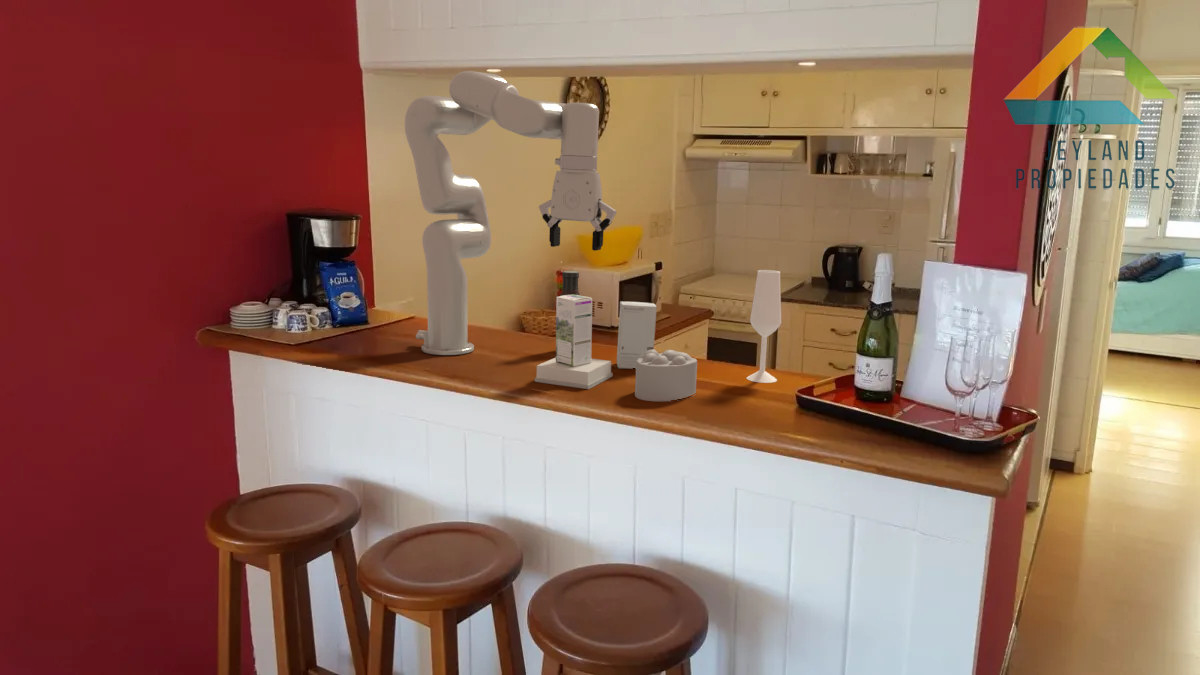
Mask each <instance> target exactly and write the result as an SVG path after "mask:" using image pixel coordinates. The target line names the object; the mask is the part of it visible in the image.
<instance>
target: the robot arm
mask: <svg viewBox="0 0 1200 675" xmlns="http://www.w3.org/2000/svg"><path fill="white" fill-rule="evenodd" d="M448 87H449V88H448V89H449V95H450V97H449V96H439V95H425V96H420V97H418V98H417V97H416V98H415V99H414V100H413V101H411V103H410V104H409V106H408V107H407V109H406V113H405V116H404V117H405V118H404V132H405V136H406V137H405V138H406V140H407V143H408V147H409V149H410V151H411V152H410V153H411V155H412V158H413V162H414V168H415V175H416V179H417V185H418V190H419V194H420V200H421V203H422V207H423V208H424V210H425V211H426V212H427V213H429V214H432V215H436V216H437V215H440V216H443V215H445V216H446V215H448V216H450V215H456V217H457V218H456V219H455V218H454V219H441V220H436V221H433V222H431V223H430V224H428V225H427V226H426V227H425V229H424V231H423V233H422V239H421V241H422V243H421V244H422V248H423V253H424V257H425V264H426V284H427V285H426V287H427V288H426V289H427V330H422V329H418V330H417V332H416V335H415V339H417V340H423V342H424V343H423V344H421V351H422V352H423V353H425V354H429V355H437V356H457V355H466V354H469V353H472V352H473V351H474V350H475V345H474V344H473V343H472V342H468V276H467V272H466V270H465V268H464V266H463V263H462V262H461V260H463V259H472V258H473V259H474V258H475V259H476V258H479V257H482V256H484V255H486V254H487V253H488V251H489V250H490V248H491V245H492V232H491V224H490V220H489V215H488V209H487V204H486V199H485V193H484V191H483V187H482V186H481V184H480V183H479V181H478V180H477V179H476V178H475V177H473V176H470V175H467V174H455V173H454V171H453V166H452V161H451V155H450V153H449V151H448V148H447V147H446V145H445V144H444V143H443V141H442V140H441V139H440V138H439V134H441V135H454V136H455V135H456V136H458V135H459V136H467V135H471V134H474V133H476V132H477V131H479V130H480V129H481V128H483V127H484V126H485V125H486V124H487V123H489V122H490V121H494V122H495V123H496V124H497V125H498V127H500V128H502V129H504V130H507V131H508V132H511V133H515V134H516V135H520V136H523V137H526V138H532V139H549V140H561V141H560V142H561V143H560V155H559V157H558V158H557V157H556V158H555V160H554V164H555V165H557V166H559V169H560V170H556V172H555V176H554V178H553V179H554V180H553V185H552V191H551V199H549V200H548V201H546V202H543V203H542V204H539V206H538V208H539V209H538V210H539V211H540V213H541V215H542V219H543V221H544V222H545V223H546V224H547V227H548V228H549V239H548V240H549V243H550V247H551V248H552V247H559V246H560V245H561V226H559V225H560V223H562V222H563V221H574V222H590V224H591V225H592V227H593V228H594V230H593V231H592V242H591V250H592V251H601V249H602V247H603V245H604V231H606V230H607V229H608V227H609V226H610V225H611V224H612V222H613V220H614V218H615V216H616V214H617V210H616V209H614V208H613V207H611V206H610V205H608V204H607V203H605V202H603V192H602V190H603V189H602V181H601V175H600V172H598V170H597V169H598V150H599V148H598V147H599V146H598V145H599V125H600V124H599V120H600V110H599V108H598V106H597V105H595V104H594V103H591V102H590V103H589V102H568V103H563V102H558V101H557V102H556V101H555V102H554V101H547V100H536V99H531V98H528V97H524V96H521V95H520V93H519V90H518V89H517V87H516V86H514V85H513V84H511V83H509V82H507V81H506V79H505V78H504V77H503V76H500V75H498V74H496V73H495V74H494V73H489V72H483V71H482V72H481V71H474V70H465V71H461V72H458V73H457V74H456V75H454V76H453V77H452V79H451V80H450V83H449V86H448ZM549 209H550V212H549ZM603 212H605V214H606V216H605V218H604V219H603V220H602V219H601V218H602V214H603Z"/></svg>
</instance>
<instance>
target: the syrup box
mask: <svg viewBox="0 0 1200 675" xmlns="http://www.w3.org/2000/svg"><path fill="white" fill-rule="evenodd" d="M579 295H580V294H579ZM579 295H563V296H559V295H558V296H556V301H555V302H556V304H555V307H556V309H555V358H556V362H558V363H562V364H565V365H569V366H581V365H585V364H589V363H591V359H592V339H593V338H592V337H593V336H592V332H593V327H592V326H593V325H592V324H593V298H592V297H590V296H584V295H580V296H579Z"/></svg>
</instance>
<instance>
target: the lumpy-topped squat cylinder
mask: <svg viewBox="0 0 1200 675" xmlns="http://www.w3.org/2000/svg"><path fill="white" fill-rule="evenodd" d="M697 372H698V360H697V359H696V358H695V357H694V358H693V357H691V355H689V354H688V353H686V352H682V351H676V350H673V349H666V350H665V351H663V352H660V353H659V352H658V351H657V350H656V349H655V348H654V349H651V350H648V351H646V352H645V354H644V356H641V357H640V358H639V359H638V360H637V361H636V369H635V382H634V383H635V384H634V385H635V386H634V396H635V398H637V399H639V400H642V401H646V402H647V401H648V402H649V401H650V402H672V401H671V400H677V399H682V398H685V397H688V396H691V395H693V394H695V393H696V392H697V390H696V389H697V378H698V377H697V374H698V373H697ZM696 394H697V393H696ZM696 394H695V395H696ZM682 400H683V399H682ZM677 401H678V400H677Z"/></svg>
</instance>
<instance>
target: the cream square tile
mask: <svg viewBox="0 0 1200 675" xmlns="http://www.w3.org/2000/svg"><path fill="white" fill-rule="evenodd" d="M613 376H614V375H613V372H612V361H611V360H605V359H597V358H591V363H589V364H585V365H581V366H569V365H565V364H562V363H558V362H556V357H554V358H551V359H549V360H547V361H544V362H541V363H540V364H538V365H536V377H534V382H536V383H541V384H548V385H549V384H550V385H557V386H563V387H571V388H577V389H583V390H585V389H586V390H590V389H592V388H593V387H595V386H597V385H599V384H601V383H603V382H605V381H607V380H609V379H610V378H613Z"/></svg>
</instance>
